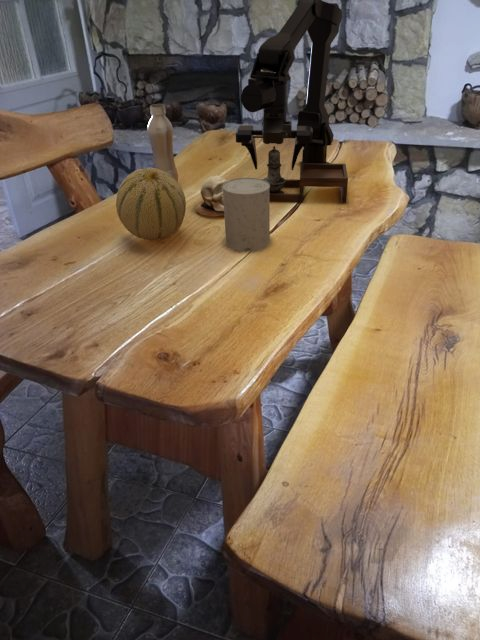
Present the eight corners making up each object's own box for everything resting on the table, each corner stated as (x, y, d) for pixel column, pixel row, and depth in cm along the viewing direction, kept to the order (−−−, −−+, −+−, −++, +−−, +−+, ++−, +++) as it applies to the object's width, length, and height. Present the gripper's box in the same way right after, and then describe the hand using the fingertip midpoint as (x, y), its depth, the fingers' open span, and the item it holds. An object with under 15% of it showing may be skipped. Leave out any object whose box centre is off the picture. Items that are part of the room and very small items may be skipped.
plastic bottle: (181, 182, 148) (173, 102, 136) (175, 191, 142) (167, 109, 130) (158, 181, 148) (148, 102, 136) (151, 190, 143) (140, 108, 131)
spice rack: (343, 187, 143) (345, 163, 140) (346, 203, 134) (348, 178, 131) (256, 186, 145) (255, 162, 141) (252, 201, 136) (252, 177, 132)
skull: (258, 204, 131) (235, 179, 123) (233, 239, 132) (208, 217, 124) (229, 189, 139) (204, 164, 131) (205, 222, 139) (179, 200, 131)
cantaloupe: (149, 218, 128) (140, 153, 119) (202, 230, 122) (196, 162, 113) (106, 243, 117) (93, 173, 109) (162, 257, 112) (152, 185, 103)
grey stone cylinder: (254, 255, 112) (253, 197, 105) (216, 245, 116) (212, 188, 109) (278, 238, 118) (278, 182, 111) (241, 229, 123) (239, 174, 115)
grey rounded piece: (261, 190, 142) (261, 142, 135) (284, 189, 142) (284, 142, 135) (263, 198, 137) (263, 149, 130) (287, 197, 138) (287, 149, 131)
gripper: (231, 111, 125) (234, 179, 134) (314, 112, 124) (311, 180, 133) (237, 100, 134) (239, 165, 143) (313, 101, 133) (310, 166, 142)
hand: (274, 169), depth 140 cm, fingers open, 9 cm apart
